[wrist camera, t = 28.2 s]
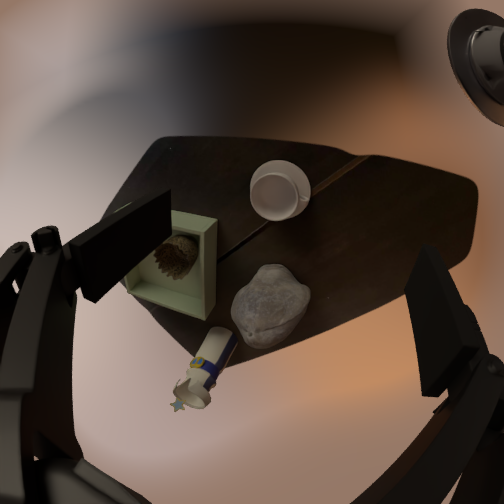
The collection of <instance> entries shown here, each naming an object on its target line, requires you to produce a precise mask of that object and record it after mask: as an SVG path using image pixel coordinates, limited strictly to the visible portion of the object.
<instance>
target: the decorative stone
mask: <svg viewBox="0 0 504 504" xmlns="http://www.w3.org/2000/svg"><path fill="white" fill-rule="evenodd" d="M310 295H311V291H310V288H309V287H307V286H306V285H302V284H300V283H299V282H298V281H297V280H296V279H295V277H294V276H293V275H292V273H291V272H290V271H289V270H288V269H287V268H285V267H284V266H282V265H279V264H271V265H264V266H262V267H261V268H260V269H259V270H258V272H257V274H256V275H255V276H254V278H253V279H252V280H251V282H250V283H249V284H248V285H246V286H245V287H243V288H242V289H240V290H239V291H238V293H237V294H236V295H235V298H234V300H233V304H232V308H231V316H232V319H233V321H234V322H235V324H236V325H237V327H238V329H239V330H240V333H241V335H242V336H243V338H244V340H245V342H246V343H247V344H248V345H249V346H251V347H253V348H257V349H265V348H269V347H272V346H274V345H276V344H277V343H279V342H281V341H283V340H284V339H285V338H286V337H287V336H288V335H289V334H290V333H291V332H292V330H293V329H294V328H295V327H296V325H297V324H298V323H299V322H300V320H301V319H302V317H303V315H304V314H305V312H306V310H307V307H308V303H309V301H310V298H311V296H310Z"/></svg>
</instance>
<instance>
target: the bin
mask: <svg viewBox="0 0 504 504" xmlns="http://www.w3.org/2000/svg"><path fill="white" fill-rule="evenodd" d="M129 204H130V203H129ZM127 205H128V204H127ZM127 205H126V206H127ZM124 207H125V206H124ZM122 208H123V207H122ZM120 209H121V208H120ZM120 209H119V210H120ZM117 211H118V210H117ZM115 212H116V211H115ZM115 212H114V213H115ZM171 217H172V235H171V236H170V237H169V238H171V237H173V236H176V235H191V236H193V237H195V238H196V240H197V241H198V257H197V260H196V262H195V264H194V265H193V267H192V269H191V270H190V272H189V274H188V275H186V276H185V277H184V278H183V279H182V280H180V279H177V280H173V278H172V276H169V277H167V276H166V275H167V273H168V272H166V273H162V272H161V269H158V266H159V265H158V264H159V262H158V263H155V260H156V258H155V257H154V256H153V254H154V253H155V250H154V251H153V252H152V253H150V254H149V255H148V256H147V257H146V258H145V259H144V260H142V261H141V262H140V263H139V264H138V265H137V266H136V267H134V268H133V269H132V270H131V271H130V272H129V273H128V274H127V275H126V276H124V279H125V283H126V288H127V292H128V293H129V294H131V295H134V296H137V297H139V298H142V299H145V300H147V301H150V302H153V303H155V304H158V305H161V306H164V307H167V308H169V309H172V310H175V311H178V312H181V313H184V314H187V315H190V316H193V317H196V318H199V319H202V320H206V318H207V317H208V315H209V314H210V312H211V311H212V309H213V307H214V306H215V304H216V256H217V224H218V219H214V218H209V217H204V216H199V215H194V214H189V213H184V212H179V211H174V210H171ZM169 238H168V239H169ZM168 239H167V240H168Z"/></svg>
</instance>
